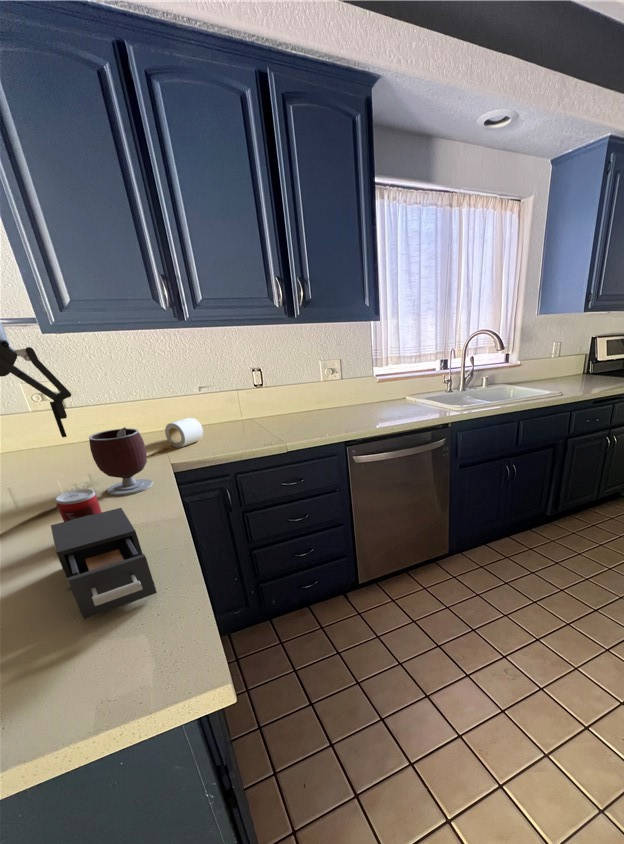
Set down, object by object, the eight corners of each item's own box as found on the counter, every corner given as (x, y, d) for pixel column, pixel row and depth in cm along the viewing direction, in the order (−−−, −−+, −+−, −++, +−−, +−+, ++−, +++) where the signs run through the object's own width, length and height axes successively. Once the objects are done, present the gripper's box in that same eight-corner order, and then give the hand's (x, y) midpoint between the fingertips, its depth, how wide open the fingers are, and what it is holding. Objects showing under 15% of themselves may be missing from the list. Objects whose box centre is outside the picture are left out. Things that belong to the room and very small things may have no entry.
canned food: (95, 527, 107) (81, 486, 103) (116, 533, 104) (102, 491, 99) (64, 541, 101) (47, 498, 97) (84, 547, 98) (68, 503, 93)
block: (98, 597, 76) (88, 571, 74) (94, 584, 80) (84, 559, 78) (132, 585, 79) (124, 560, 77) (126, 573, 83) (118, 548, 81)
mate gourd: (97, 490, 131) (75, 426, 123) (142, 477, 141) (125, 416, 133) (119, 501, 123) (97, 433, 114) (166, 486, 133) (149, 422, 124)
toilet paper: (186, 440, 183) (181, 416, 179) (205, 441, 180) (200, 418, 175) (168, 446, 175) (162, 422, 170) (187, 448, 171) (181, 423, 167)
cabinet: (148, 572, 87) (135, 530, 83) (74, 597, 80) (56, 552, 76) (133, 546, 98) (121, 507, 94) (67, 566, 91) (50, 525, 87)
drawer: (163, 605, 76) (152, 567, 72) (87, 634, 69) (70, 594, 66) (140, 563, 89) (130, 530, 85) (74, 585, 82) (60, 549, 79)
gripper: (-145, 321, 62) (-74, 461, 71) (62, 316, 76) (99, 434, 84) (-132, 321, 67) (-68, 452, 76) (59, 317, 81) (94, 427, 90)
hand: (20, 442), depth 80 cm, fingers open, 13 cm apart
